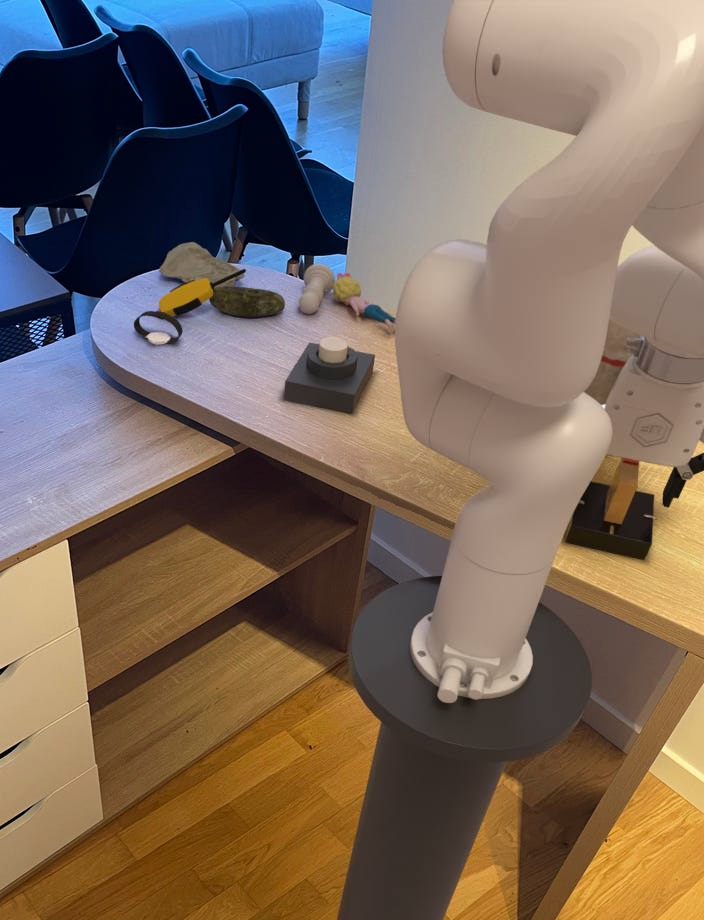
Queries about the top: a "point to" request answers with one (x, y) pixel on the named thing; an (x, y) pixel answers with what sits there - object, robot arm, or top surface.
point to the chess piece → (315, 287)
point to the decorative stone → (247, 301)
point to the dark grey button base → (329, 380)
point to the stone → (197, 265)
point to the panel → (612, 524)
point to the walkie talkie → (190, 295)
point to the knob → (621, 490)
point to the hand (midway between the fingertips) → (622, 491)
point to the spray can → (610, 362)
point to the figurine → (359, 300)
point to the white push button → (333, 349)
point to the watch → (158, 336)
